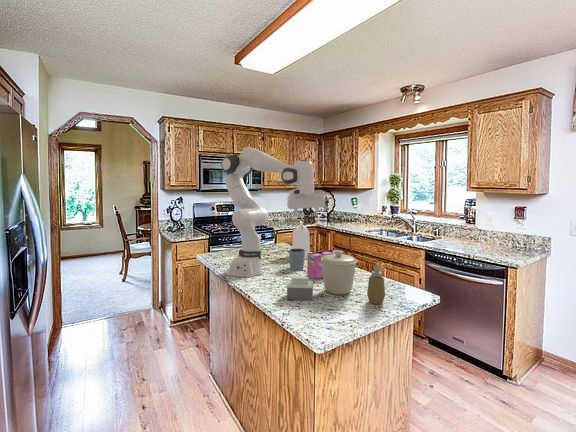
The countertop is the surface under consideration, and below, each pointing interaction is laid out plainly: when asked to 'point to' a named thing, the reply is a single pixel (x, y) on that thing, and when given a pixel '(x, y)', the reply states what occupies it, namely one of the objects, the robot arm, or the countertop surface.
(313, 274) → the gum box
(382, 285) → the squeeze bottle
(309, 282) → the lid
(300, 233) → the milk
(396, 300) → the countertop surface
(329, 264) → the canister
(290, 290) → the box
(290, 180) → the robot arm
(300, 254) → the grey cup
